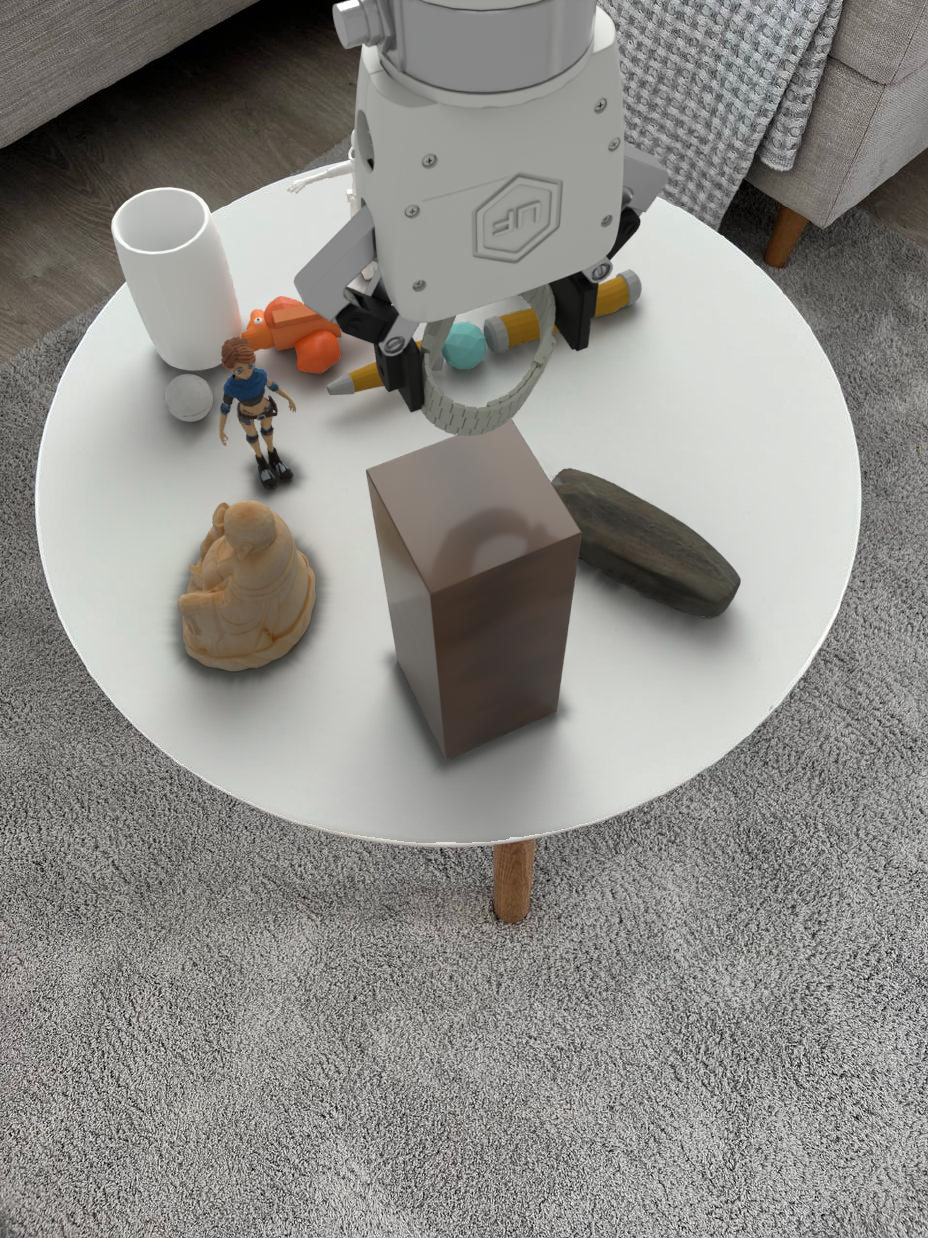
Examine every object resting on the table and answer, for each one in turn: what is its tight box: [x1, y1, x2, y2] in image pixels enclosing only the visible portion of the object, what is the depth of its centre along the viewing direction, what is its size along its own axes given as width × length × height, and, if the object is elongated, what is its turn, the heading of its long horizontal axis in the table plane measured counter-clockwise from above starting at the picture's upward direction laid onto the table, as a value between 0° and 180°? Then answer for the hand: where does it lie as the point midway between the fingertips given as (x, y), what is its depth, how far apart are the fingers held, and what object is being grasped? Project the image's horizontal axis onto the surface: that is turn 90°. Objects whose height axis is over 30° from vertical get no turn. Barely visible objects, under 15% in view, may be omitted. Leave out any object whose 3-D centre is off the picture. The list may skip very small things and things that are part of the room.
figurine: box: [218, 336, 297, 490], centre depth 83 cm, size 6×3×15 cm, turn 122°
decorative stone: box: [550, 467, 742, 618], centre depth 83 cm, size 17×6×4 cm, turn 51°
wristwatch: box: [420, 283, 557, 436], centre depth 50 cm, size 9×6×5 cm
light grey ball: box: [164, 373, 214, 423], centre depth 91 cm, size 4×4×4 cm
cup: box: [110, 186, 244, 372], centre depth 90 cm, size 8×8×14 cm
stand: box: [365, 418, 582, 761], centre depth 69 cm, size 9×9×24 cm
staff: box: [326, 268, 643, 396], centre depth 94 cm, size 4×4×30 cm
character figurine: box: [286, 128, 375, 280], centre depth 94 cm, size 14×3×15 cm, turn 115°
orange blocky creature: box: [241, 295, 342, 375], centre depth 94 cm, size 5×8×12 cm
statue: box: [177, 500, 317, 672], centre depth 79 cm, size 12×14×10 cm
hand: (487, 358), depth 51 cm, fingers closed on wristwatch, 8 cm apart
